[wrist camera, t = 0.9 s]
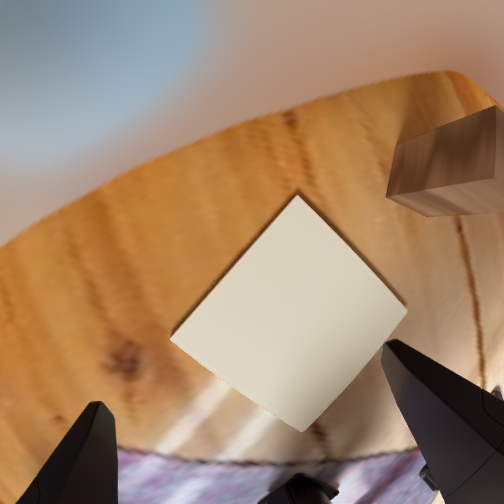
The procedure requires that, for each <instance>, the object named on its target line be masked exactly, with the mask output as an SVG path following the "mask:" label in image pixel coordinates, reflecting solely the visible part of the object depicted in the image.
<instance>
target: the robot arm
mask: <svg viewBox="0 0 504 504" xmlns="http://www.w3.org/2000/svg"><path fill="white" fill-rule="evenodd" d="M381 363H382V367H383V369H384V372H385V374H386V377H387V380H388V382H389V385H390V387H391V390H392V393H393V395H394V398H395V400H396V403H397V405H398V407H399V409H400V411H401V413H402V415H403V417H404V419H405V421H406V423H407V425H408V427H409V429H410V431H411V433H412V435H413V437H414V439H415V441H416V443H417V445H418V447H419V449H420V451H421V453H422V455H423V457H424V459H425V461H426V463H427V465H428V467H429V469H430V471H431V473H432V475H433V478H434V480H435V482H436V484H437V486H438V488H439V490H440V493H441V495H442V497H443V499H444V502H445V504H504V400H502V399H500V398H498V397H496V396H494V395H493V394H491V393H489V392H487V391H486V390H484V389H481V388H480V387H479V386H477V385H475V384H473V383H472V382H470V381H468V380H467V379H465V378H463V377H461V376H460V375H458V374H456V373H455V372H453V371H451V370H449V369H448V368H446V367H444V366H443V365H441V364H439V363H437V362H436V361H434V360H432V359H431V358H429V357H427V356H426V355H424V354H422V353H420V352H419V351H417V350H415V349H414V348H412V347H410V346H408V345H407V344H405V343H403V342H402V341H400V340H398V339H392V340H389V341H387V342H385V343H384V345H383V351H382V357H381ZM299 477H301V478H299ZM338 494H339V490H338V489H337V488H335V487H332V486H330V485H328V484H325V483H323V482H321V481H319V480H316V479H314V478H312V477H310V476H308V475H306V474H304V473H298V474H296V475H295V476H294V477H293V478H291V479H290V480H289V481H288V482H287V483H285V484H284V485H283V486H282V487H281V488H279V489H278V490H277V491H275V492H274V493H273V494H272V495H270V496H269V497H268V498H266V499H265V500H264V501H263V502H261V503H260V504H332V503H331V500H332V499H333V498H334V497H335V496H337V495H338ZM15 504H118V455H117V443H116V428H115V418H114V416H113V414H112V413H111V412H110V410H109V409H108V408H107V407H106V405H105V404H104V403H103V402H102V401H92V402H90V403H89V404H88V405H87V406H86V408H85V409H84V411H83V412H82V413H81V415H80V416H79V417H78V419H77V420H76V421H75V423H74V424H73V425H72V427H71V428H70V429H69V431H68V432H67V434H66V435H65V436H64V438H63V439H62V440H61V442H60V443H59V445H58V446H57V447H56V449H55V450H54V452H53V453H52V454H51V456H50V457H49V459H48V460H47V461H46V463H45V464H44V466H43V467H42V468H41V470H40V471H39V473H38V474H37V477H35V478H34V480H33V481H32V483H31V484H30V485H29V487H28V488H27V490H26V491H25V492H24V494H23V495H22V496H21V497H20V499H19V500H18V501H17V502H16V503H15Z"/></svg>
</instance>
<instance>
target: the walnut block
mask: <svg viewBox="0 0 504 504" xmlns="http://www.w3.org/2000/svg"><path fill="white" fill-rule="evenodd" d="M386 198H388V199H391V200H393V201H395V202H397V203H399V204H401V205H403V206H405V207H408V208H410V209H412V210H414V211H416V212H418V213H420V214H422V215H424V216H426V217H438V216H454V215H471V214H488V213H504V112H503V111H502V110H500V109H499V108H498V107H497V106H496V105H495V106H492V107H490V108H487V109H484V110H482V111H479V112H477V113H474V114H472V115H469V116H466V117H464V118H461V119H459V120H456V121H454V122H451V123H449V124H446V125H444V126H441V127H439V128H436V129H434V130H432V131H429V132H427V133H424V134H422V135H419V136H417V137H415V138H412V139H410V140H408V141H405V142H403V143H400V144H398V145H396V148H395V154H394V159H393V165H392V170H391V175H390V180H389V184H388V189H387V194H386Z"/></svg>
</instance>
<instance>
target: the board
mask: <svg viewBox="0 0 504 504" xmlns="http://www.w3.org/2000/svg"><path fill="white" fill-rule="evenodd" d="M407 312H408V310H407V309H406V308H405V307H404V306H403V305H402V304H401V302H400V301H399V300H398V299H397V298H396V297H395V296H394V295H393V293H392V292H391V291H390V290H389V289H388V288H387V287H386V286H385V285H384V283H383V282H382V281H381V280H380V279H379V278H378V277H377V276H376V275H375V274H374V273H373V272H372V270H371V269H370V268H369V267H368V266H367V265H366V264H365V263H364V262H363V261H362V260H361V259H360V258H359V257H358V256H357V254H356V253H355V252H354V251H353V250H352V249H351V248H350V247H349V246H348V245H347V244H346V243H345V242H344V241H343V240H342V239H341V238H340V237H339V236H338V235H337V234H336V233H335V232H334V231H333V230H332V229H331V228H330V227H329V226H328V225H327V224H326V223H325V222H324V221H323V220H322V219H321V218H320V217H319V216H318V215H317V214H316V213H315V212H314V211H313V210H312V209H311V208H310V207H309V206H308V205H307V204H306V203H305V202H304V201H303V200H302V199H301V198H300V197H299V196H298V195H296V196H295V197H294V198H293V199H292V200H291V201H290V202H289V203H288V205H287V206H286V207H285V208H284V209H283V210H282V211H281V212H280V214H279V215H278V216H277V217H276V218H275V219H274V220H273V221H272V223H271V224H270V225H269V226H268V227H267V228H266V229H265V230H264V232H263V233H262V234H261V235H260V236H259V237H258V238H257V239H256V241H255V242H254V243H253V244H252V245H251V246H250V247H249V248H248V250H247V251H246V252H245V253H244V254H243V255H242V256H241V257H240V259H239V260H238V261H237V262H236V263H235V264H234V265H233V266H232V268H231V269H230V270H229V271H228V272H227V273H226V274H225V276H224V277H223V278H222V279H221V280H220V281H219V282H218V283H217V285H216V286H215V287H214V288H213V289H212V290H211V291H210V292H209V294H208V295H207V296H206V297H205V298H204V299H203V300H202V302H201V303H200V304H199V305H198V306H197V307H196V308H195V309H194V311H193V312H192V313H191V314H190V315H189V316H188V317H187V319H186V320H185V321H184V322H183V323H182V324H181V325H180V326H179V328H178V329H177V330H176V331H175V332H174V333H173V334H172V336H171V337H170V340H171V341H172V342H174V343H175V344H176V345H177V346H179V347H180V348H181V349H182V350H184V351H185V352H186V353H187V354H189V355H190V356H191V357H192V358H194V359H195V360H196V361H198V362H199V363H200V364H202V365H203V366H204V367H206V368H207V369H208V370H210V371H211V372H212V373H214V374H215V375H216V376H218V377H219V378H220V379H222V380H223V381H225V382H226V383H227V384H229V385H230V386H232V387H233V388H234V389H236V390H237V391H239V392H240V393H241V394H243V395H244V396H246V397H247V398H249V399H250V400H252V401H253V402H255V403H256V404H258V405H259V406H261V407H262V408H264V409H265V410H267V411H268V412H270V413H271V414H273V415H274V416H276V417H277V418H279V419H280V420H282V421H284V422H285V423H287V424H288V425H290V426H292V427H293V428H295V429H296V430H298V431H300V432H301V433H303V432H304V431H305V430H306V429H307V428H308V427H309V426H310V425H311V424H312V423H313V422H314V421H315V420H316V419H317V418H318V417H319V416H320V415H321V414H322V413H323V412H324V411H325V410H326V409H327V408H328V407H329V406H330V404H331V403H332V402H333V401H334V400H335V399H336V398H337V397H338V396H339V395H340V394H341V393H342V392H343V390H344V389H345V388H346V387H347V386H348V385H349V384H350V383H351V382H352V380H353V379H354V378H355V377H356V376H357V375H358V374H359V372H360V371H361V370H362V369H363V368H364V367H365V365H366V364H367V363H368V362H369V361H370V359H371V358H372V357H373V356H374V355H375V353H376V352H377V351H378V350H379V348H380V347H381V346H382V345H383V343H384V342H385V341H386V340H387V338H388V337H389V336H390V334H391V333H392V332H393V331H394V329H395V328H396V327H397V325H398V324H399V323H400V321H401V320H402V319H403V317H404V316H405V315H406V313H407Z"/></svg>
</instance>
